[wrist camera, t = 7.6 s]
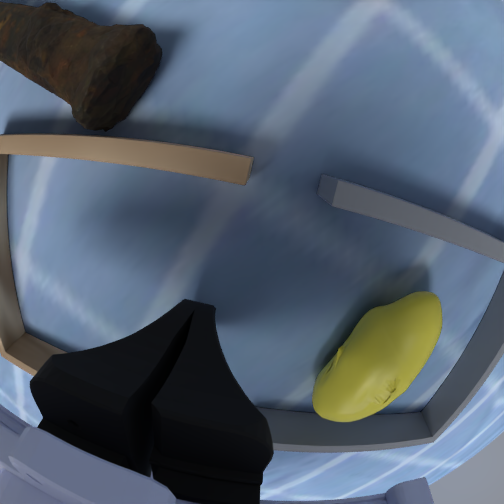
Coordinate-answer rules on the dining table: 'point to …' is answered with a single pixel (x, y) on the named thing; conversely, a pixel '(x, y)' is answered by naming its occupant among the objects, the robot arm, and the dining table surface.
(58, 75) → the hand tool
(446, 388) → the grey frame
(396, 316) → the lemon
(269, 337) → the dining table surface
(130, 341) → the robot arm
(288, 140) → the dining table surface
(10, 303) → the oak frame
